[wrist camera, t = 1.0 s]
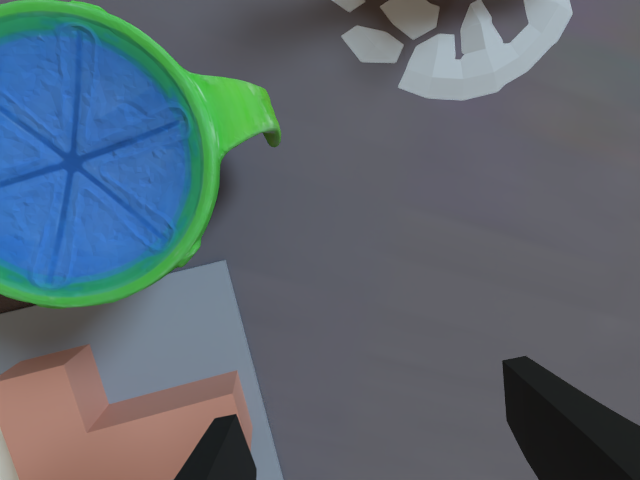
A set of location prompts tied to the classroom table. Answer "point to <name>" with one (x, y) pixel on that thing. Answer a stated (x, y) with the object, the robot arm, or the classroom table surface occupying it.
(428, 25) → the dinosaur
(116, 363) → the t board
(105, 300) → the snack cup
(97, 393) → the t block
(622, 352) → the classroom table surface
